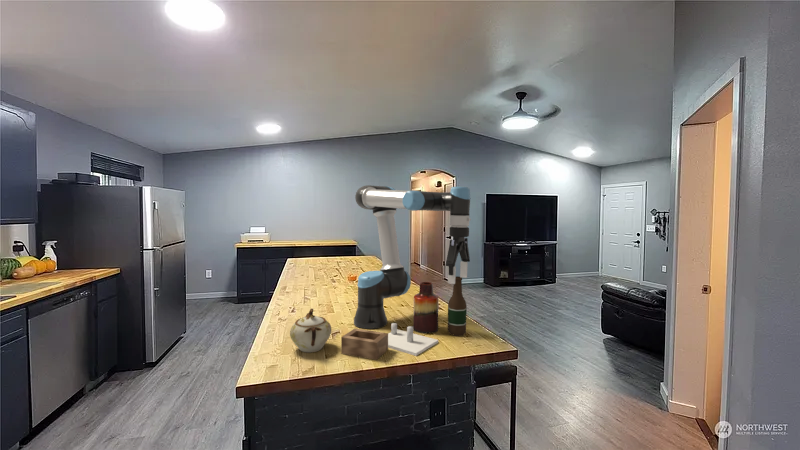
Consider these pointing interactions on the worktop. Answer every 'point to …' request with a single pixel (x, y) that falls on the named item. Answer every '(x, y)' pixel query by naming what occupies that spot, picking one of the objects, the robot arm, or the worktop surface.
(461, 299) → the beer bottle
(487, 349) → the worktop surface
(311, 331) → the sugar bowl
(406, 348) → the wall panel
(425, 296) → the vase
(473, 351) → the worktop surface
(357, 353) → the frame
